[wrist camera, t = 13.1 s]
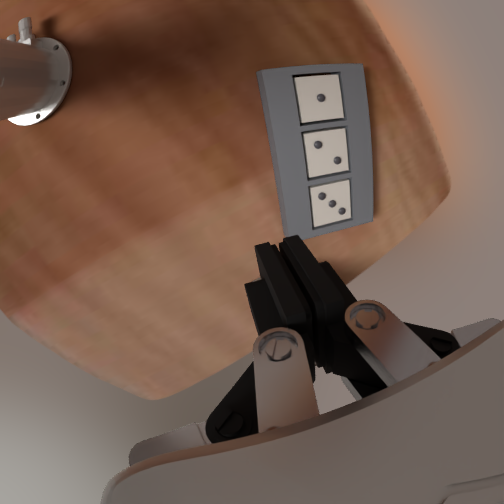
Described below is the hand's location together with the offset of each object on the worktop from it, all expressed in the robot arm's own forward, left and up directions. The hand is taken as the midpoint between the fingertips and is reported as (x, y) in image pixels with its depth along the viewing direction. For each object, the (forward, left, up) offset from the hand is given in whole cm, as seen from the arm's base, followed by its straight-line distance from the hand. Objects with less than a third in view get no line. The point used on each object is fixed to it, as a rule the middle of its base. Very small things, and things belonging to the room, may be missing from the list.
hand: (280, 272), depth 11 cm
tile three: (+11, +14, -28) cm, 33 cm away
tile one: (-5, +14, -28) cm, 32 cm away
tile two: (+3, +14, -28) cm, 32 cm away
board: (+3, +14, -29) cm, 32 cm away
